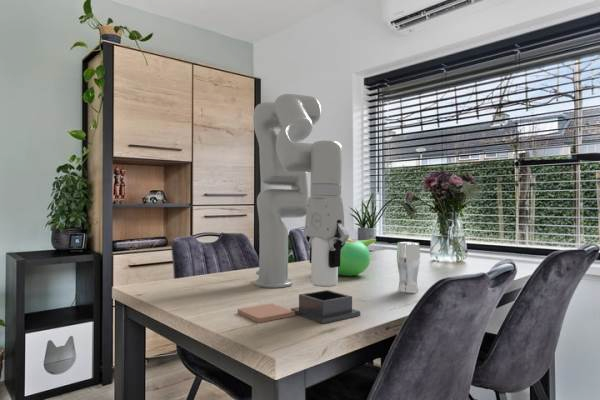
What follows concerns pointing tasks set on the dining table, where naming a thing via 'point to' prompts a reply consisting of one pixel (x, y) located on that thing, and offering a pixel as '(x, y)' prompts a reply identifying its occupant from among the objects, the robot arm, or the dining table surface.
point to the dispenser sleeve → (325, 306)
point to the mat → (265, 312)
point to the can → (322, 264)
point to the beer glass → (408, 266)
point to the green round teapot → (354, 257)
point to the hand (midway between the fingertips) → (324, 264)
